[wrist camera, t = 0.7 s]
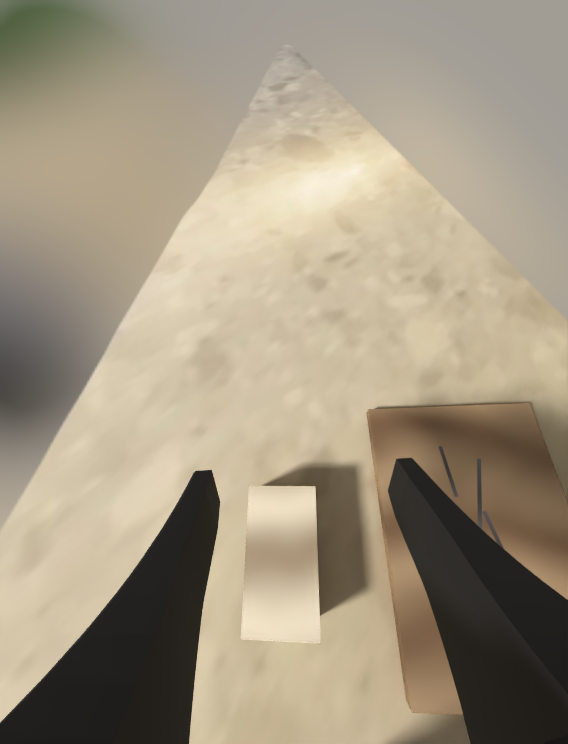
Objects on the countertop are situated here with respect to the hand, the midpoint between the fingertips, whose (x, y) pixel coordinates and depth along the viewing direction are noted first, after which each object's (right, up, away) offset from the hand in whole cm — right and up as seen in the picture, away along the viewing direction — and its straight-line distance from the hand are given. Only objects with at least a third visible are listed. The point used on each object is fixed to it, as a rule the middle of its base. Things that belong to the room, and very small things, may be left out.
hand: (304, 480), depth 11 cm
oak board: (+14, -8, +11) cm, 20 cm away
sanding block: (-1, -10, +12) cm, 16 cm away
